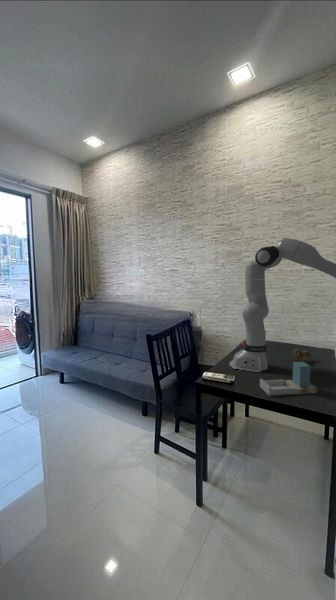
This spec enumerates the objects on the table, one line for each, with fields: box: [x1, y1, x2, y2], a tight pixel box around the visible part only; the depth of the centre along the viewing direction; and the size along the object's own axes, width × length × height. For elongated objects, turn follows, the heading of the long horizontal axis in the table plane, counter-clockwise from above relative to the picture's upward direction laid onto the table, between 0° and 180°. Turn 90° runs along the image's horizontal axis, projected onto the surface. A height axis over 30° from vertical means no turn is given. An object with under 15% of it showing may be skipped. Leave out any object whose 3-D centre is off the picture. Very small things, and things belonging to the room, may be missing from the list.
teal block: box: [292, 361, 311, 387], centre depth 122 cm, size 5×6×10 cm
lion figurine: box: [293, 348, 313, 362], centre depth 160 cm, size 15×5×9 cm, turn 115°
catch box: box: [259, 378, 296, 397], centre depth 122 cm, size 12×10×4 cm
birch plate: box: [283, 379, 318, 395], centre depth 123 cm, size 11×10×2 cm
